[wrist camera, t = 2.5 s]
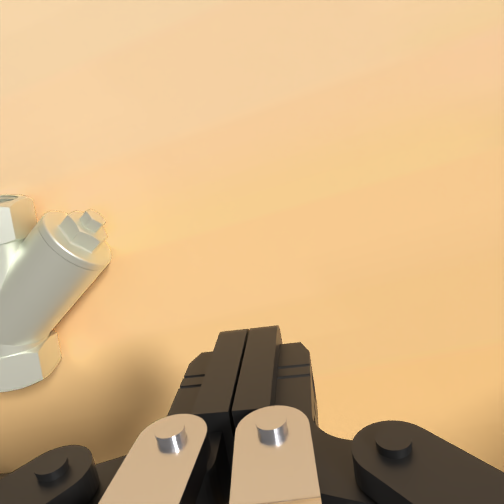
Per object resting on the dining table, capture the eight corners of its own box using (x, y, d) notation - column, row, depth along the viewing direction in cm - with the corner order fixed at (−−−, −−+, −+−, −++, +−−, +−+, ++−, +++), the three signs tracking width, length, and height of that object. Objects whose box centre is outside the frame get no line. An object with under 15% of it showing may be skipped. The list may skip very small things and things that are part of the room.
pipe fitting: (115, 188, 22) (-30, 195, 22) (82, 204, 18) (-92, 212, 18) (136, 348, 24) (4, 352, 24) (111, 392, 20) (-45, 396, 20)
